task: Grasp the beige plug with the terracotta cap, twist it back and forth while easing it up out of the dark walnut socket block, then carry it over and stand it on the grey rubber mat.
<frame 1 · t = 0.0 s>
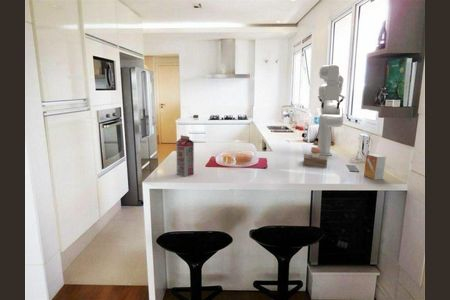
hand: (330, 108, 198), 37 cm above the countertop, tool pointing down, fingers open, 9 cm apart
juice carton: (185, 175, 161), on the countertop
small box: (373, 177, 164), on the countertop
mat: (346, 168, 184), on the countertop
socket block: (314, 165, 189), on the countertop
plug: (314, 164, 189), point 1 cm above the countertop, touching socket block
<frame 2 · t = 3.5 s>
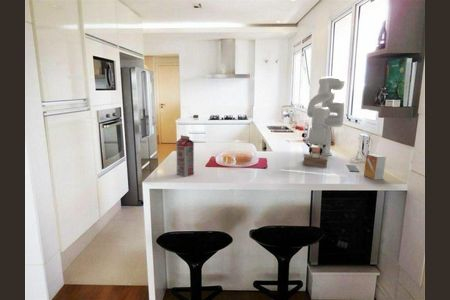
hand: (315, 153, 187), 8 cm above the countertop, tool pointing down, fingers closed on plug, 5 cm apart
plug: (314, 164, 189), point 1 cm above the countertop, touching gripper, socket block
everything else where it was.
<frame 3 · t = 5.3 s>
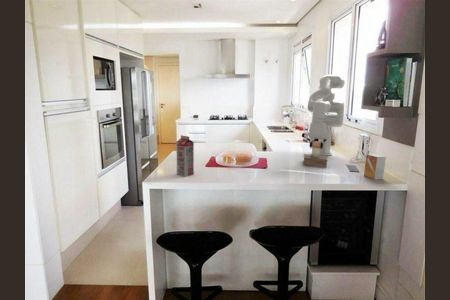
hand: (315, 148, 187), 12 cm above the countertop, tool pointing down, fingers closed on plug, 5 cm apart
plug: (315, 158, 188), point 5 cm above the countertop, touching gripper
everything else where it was.
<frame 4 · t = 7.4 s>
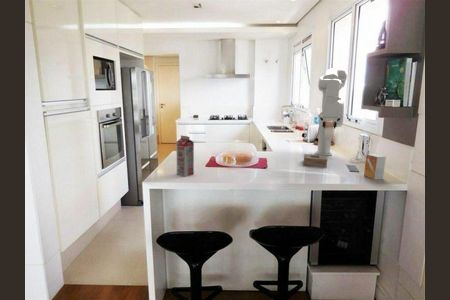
hand: (329, 128, 182), 25 cm above the countertop, tool pointing down, fingers closed on plug, 5 cm apart
plug: (328, 138, 183), point 18 cm above the countertop, touching gripper
everything else where it was.
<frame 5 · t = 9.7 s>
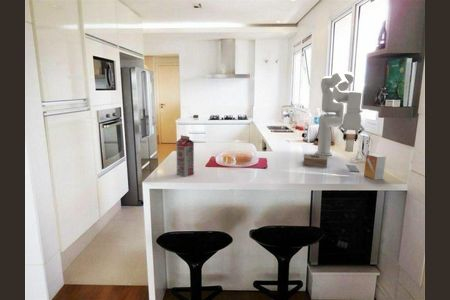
hand: (350, 140, 180), 18 cm above the countertop, tool pointing down, fingers closed on plug, 5 cm apart
plug: (348, 151, 181), point 11 cm above the countertop, touching gripper
everything else where it was.
when the fingers open (9 cm above the countertop, at t = 11.7 s): plug drops 1 cm, resting on mat.
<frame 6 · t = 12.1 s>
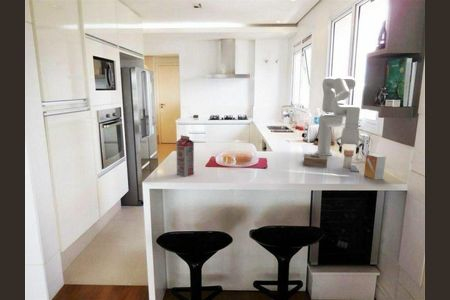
hand: (348, 153, 182), 10 cm above the countertop, tool pointing down, fingers open, 9 cm apart
plug: (346, 167, 183), point 1 cm above the countertop, touching mat
everything else where it was.
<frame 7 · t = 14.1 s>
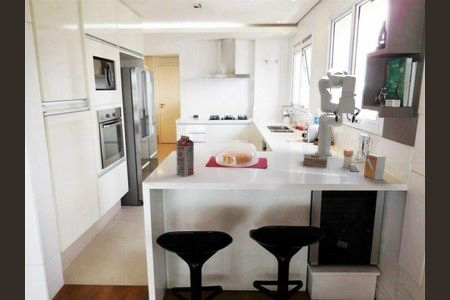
hand: (344, 122, 185), 29 cm above the countertop, tool pointing down, fingers open, 9 cm apart
nothing on the countertop moved.
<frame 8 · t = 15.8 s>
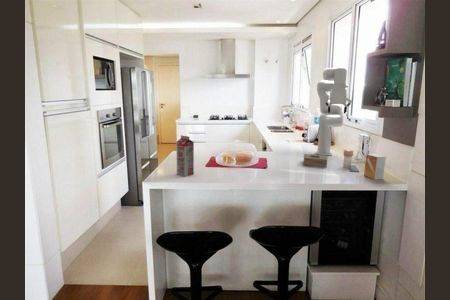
hand: (336, 113, 192), 34 cm above the countertop, tool pointing down, fingers open, 9 cm apart
nothing on the countertop moved.
at the end: plug inside the target area on the mat (0.2 cm from its centre), point 0.6 cm above the mat's base; plug tilted 0°; the gripper is holding nothing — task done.
